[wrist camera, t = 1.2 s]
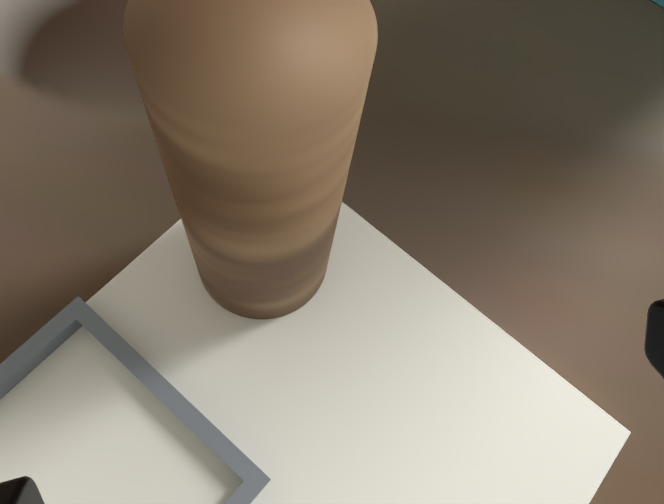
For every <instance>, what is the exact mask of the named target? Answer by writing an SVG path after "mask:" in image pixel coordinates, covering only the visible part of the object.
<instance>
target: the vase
mask: <svg viewBox="0 0 664 504" xmlns="http://www.w3.org/2000/svg"><path fill="white" fill-rule="evenodd" d="M652 1H654V2H656V3H657V4H659V5H660V6H662V7H664V0H652Z"/></svg>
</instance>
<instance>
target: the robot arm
mask: <svg viewBox="0 0 664 504" xmlns="http://www.w3.org/2000/svg"><path fill="white" fill-rule="evenodd" d="M644 349H645V354H646V357H647V359H648V361H649V362H650V364H651V365H652V366H653V367H654V368H655V370H656V371H657V372H658V373H659V374H660V375H661V376H662V378H663V379H664V299H661V300H658V301H655V302H653V303H652V304H651V305H650V307H649V309H648V314H647V324H646V334H645V344H644ZM0 504H45V503H44V501H43V499H42V496H41V494H40V492H39V490H38V487H37V485H36V483H35V482H34V480H33V479H32V478H30V477H27V476H23V477H19V478H15V479H12V480H8V481H4V482H1V483H0Z"/></svg>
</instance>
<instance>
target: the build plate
mask: <svg viewBox="0 0 664 504" xmlns="http://www.w3.org/2000/svg"><path fill="white" fill-rule="evenodd" d="M630 433H631V432H630V431H629V430H627V429H626V428H625V427H624V426H622V425H621V424H620V423H619V422H617V421H616V420H615V419H614V418H612V417H611V416H610V415H609V414H607V413H606V412H605V411H604V410H602V409H601V408H600V407H599V406H597V405H596V404H595V403H594V402H592V401H591V400H590V399H588V398H587V397H586V396H585V395H583V394H582V393H581V392H580V391H578V390H577V389H576V388H575V387H573V386H572V385H571V384H570V383H568V382H567V381H566V380H565V379H563V378H562V377H561V376H560V375H558V374H557V373H556V372H555V371H553V370H552V369H551V368H550V367H548V366H547V365H546V364H545V363H543V362H542V361H541V360H540V359H538V358H537V357H536V356H535V355H533V354H532V353H531V352H530V351H528V350H527V349H526V348H525V347H523V346H522V345H521V344H520V343H518V342H517V341H516V340H515V339H513V338H512V337H511V336H510V335H508V334H507V333H506V332H505V331H503V330H502V329H501V328H500V327H498V326H497V325H496V324H495V323H493V322H492V321H491V320H490V319H488V318H487V317H486V316H485V315H483V314H482V313H481V312H480V311H478V310H477V309H476V308H475V307H473V306H472V305H471V304H470V303H468V302H467V301H466V300H465V299H463V298H462V297H461V296H460V295H458V294H457V293H456V292H455V291H453V290H452V289H451V288H450V287H448V286H447V285H446V284H445V283H443V282H442V281H441V280H440V279H438V278H437V277H436V276H435V275H433V274H432V273H431V272H430V271H428V270H427V269H426V268H425V267H423V266H422V265H421V264H420V263H418V262H417V261H416V260H415V259H413V258H412V257H411V256H410V255H408V254H407V253H406V252H405V251H403V250H402V249H401V248H400V247H398V246H397V245H396V244H395V243H393V242H392V241H391V240H390V239H388V238H387V237H386V236H385V235H383V234H382V233H381V232H379V231H378V230H377V229H376V228H374V227H373V226H372V225H371V224H369V223H368V222H367V221H366V220H364V219H363V218H362V217H361V216H359V215H358V214H357V213H356V212H354V211H353V210H352V209H351V208H349V207H348V206H347V205H346V204H344V203H343V202H342V203H341V208H340V212H339V216H338V221H337V225H336V230H335V234H334V238H333V243H332V247H331V252H330V256H329V261H328V265H327V269H326V273H325V277H324V279H323V282H322V284H321V286H320V288H319V289H318V291H317V292H316V294H315V295H314V296H313V297H312V299H311V300H309V301H308V302H307V303H306V304H305V305H304V306H302V307H301V308H299V309H298V310H296V311H294V312H292V313H290V314H288V315H285V316H282V317H278V318H274V319H251V318H246V317H242V316H239V315H236V314H234V313H231V312H230V311H228V310H226V309H224V308H223V307H222V306H220V305H219V304H218V303H217V302H216V301H215V300H214V299H213V298H212V297H211V296H210V295H209V293H208V292H207V291H206V289H205V287H204V285H203V283H202V281H201V278H200V275H199V272H198V269H197V266H196V263H195V260H194V257H193V254H192V250H191V247H190V244H189V241H188V238H187V235H186V232H185V229H184V226H183V223H182V220H181V219H180V220H179V221H178V222H176V223H175V224H174V225H173V226H172V227H171V228H170V229H169V230H167V231H166V232H165V233H164V234H163V235H162V236H161V237H159V238H158V239H157V240H156V241H155V242H154V243H153V244H151V245H150V246H149V247H148V248H147V249H146V250H145V251H144V252H142V253H141V254H140V255H139V256H138V257H137V258H136V259H134V260H133V261H132V262H131V263H130V264H129V265H128V266H127V267H125V268H124V269H123V270H122V271H121V272H120V273H119V274H117V275H116V276H115V277H114V278H113V279H112V280H111V281H109V282H108V283H107V284H106V285H105V286H104V287H103V288H102V289H100V290H99V291H98V292H97V293H96V294H95V295H94V296H92V297H91V298H90V299H89V300H88V301H87V302H86V303H85V302H84V301H83V300H82V299H81V298H80V297H79V296H78V297H76V298H75V299H74V300H73V301H72V302H71V303H69V304H68V305H67V306H66V307H65V308H64V309H63V310H61V311H60V312H59V313H58V314H57V315H56V316H55V317H53V318H52V319H51V320H50V321H49V322H48V323H46V324H45V325H44V326H43V327H42V328H41V329H40V330H38V331H37V332H36V333H35V334H34V335H33V336H32V337H30V338H29V339H28V340H27V341H26V342H25V343H24V344H22V345H21V346H20V347H19V348H18V349H17V350H15V351H14V352H13V353H12V354H11V355H10V356H9V357H7V358H6V359H5V360H4V361H3V362H2V363H1V364H0V483H1V482H4V481H8V480H12V479H15V478H19V477H23V476H27V477H30V478H32V479H33V480H34V482H35V483H36V485H37V487H38V490H39V492H40V494H41V496H42V499H43V501H44V503H45V504H589V503H590V501H591V499H592V498H593V496H594V494H595V492H596V491H597V489H598V487H599V486H600V484H601V482H602V481H603V479H604V477H605V475H606V474H607V472H608V470H609V469H610V467H611V465H612V464H613V462H614V460H615V458H616V457H617V455H618V453H619V452H620V450H621V448H622V447H623V445H624V443H625V441H626V440H627V438H628V436H629V435H630Z"/></svg>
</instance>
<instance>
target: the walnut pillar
mask: <svg viewBox="0 0 664 504" xmlns="http://www.w3.org/2000/svg"><path fill="white" fill-rule="evenodd" d="M123 35H124V41H125V46H126V50H127V53H128V56H129V59H130V62H131V65H132V69H133V71H134V75H135V78H136V81H137V84H138V87H139V90H140V93H141V96H142V99H143V102H144V106H145V109H146V112H147V115H148V118H149V121H150V124H151V127H152V130H153V133H154V136H155V139H156V143H157V146H158V149H159V152H160V155H161V158H162V161H163V164H164V167H165V170H166V173H167V176H168V180H169V183H170V186H171V189H172V192H173V195H174V198H175V201H176V204H177V207H178V210H179V213H180V217H181V220H182V223H183V226H184V229H185V232H186V235H187V238H188V241H189V244H190V247H191V250H192V254H193V257H194V260H195V263H196V266H197V269H198V272H199V275H200V278H201V281H202V283H203V285H204V287H205V289H206V291H207V292H208V293H209V295H210V296H211V297H212V298H213V299H214V300H215V301H216V302H217V303H218V304H219V305H220V306H222V307H223V308H224V309H226V310H228V311H230V312H231V313H234V314H236V315H239V316H242V317H246V318H251V319H274V318H278V317H282V316H285V315H288V314H290V313H292V312H294V311H296V310H298V309H299V308H301V307H302V306H304V305H305V304H306V303H307V302H308V301H309V300H311V299H312V297H313V296H314V295H315V294H316V292H317V291H318V289H319V288H320V286H321V284H322V282H323V279H324V277H325V273H326V269H327V265H328V261H329V256H330V252H331V247H332V243H333V238H334V234H335V230H336V225H337V221H338V216H339V212H340V208H341V203H342V199H343V194H344V190H345V186H346V181H347V177H348V172H349V168H350V164H351V159H352V155H353V150H354V146H355V142H356V137H357V133H358V128H359V124H360V120H361V115H362V111H363V106H364V102H365V98H366V93H367V89H368V84H369V80H370V76H371V71H372V67H373V62H374V58H375V54H376V49H377V41H378V28H377V21H376V16H375V12H374V9H373V7H372V4H371V2H370V0H128V2H127V5H126V8H125V13H124V19H123Z"/></svg>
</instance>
